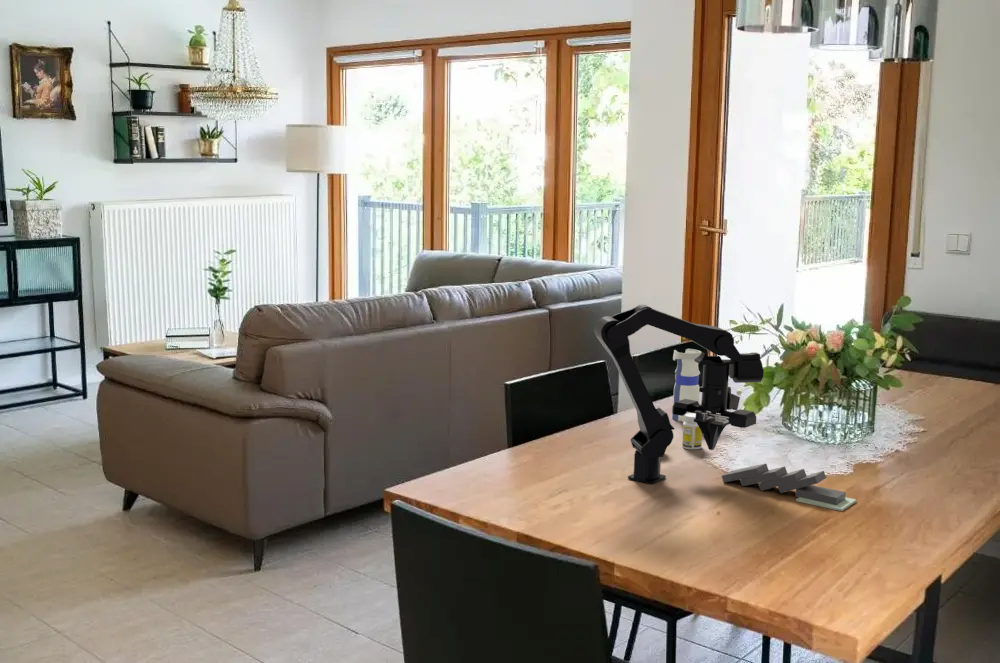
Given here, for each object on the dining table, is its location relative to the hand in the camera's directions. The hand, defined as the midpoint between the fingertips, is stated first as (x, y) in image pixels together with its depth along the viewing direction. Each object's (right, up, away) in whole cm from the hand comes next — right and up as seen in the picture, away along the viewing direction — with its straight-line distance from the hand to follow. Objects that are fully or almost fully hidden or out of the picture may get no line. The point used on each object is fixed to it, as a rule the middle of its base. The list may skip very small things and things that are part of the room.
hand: (711, 449), depth 238 cm
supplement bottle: (0, -2, +25) cm, 25 cm away
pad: (+21, -9, -16) cm, 28 cm away
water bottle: (+3, +2, +54) cm, 54 cm away
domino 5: (+17, -7, -12) cm, 22 cm away
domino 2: (+7, -6, -4) cm, 10 cm away
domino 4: (+14, -7, -10) cm, 19 cm away
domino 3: (+10, -7, -7) cm, 14 cm away
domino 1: (+3, -6, -2) cm, 7 cm away
